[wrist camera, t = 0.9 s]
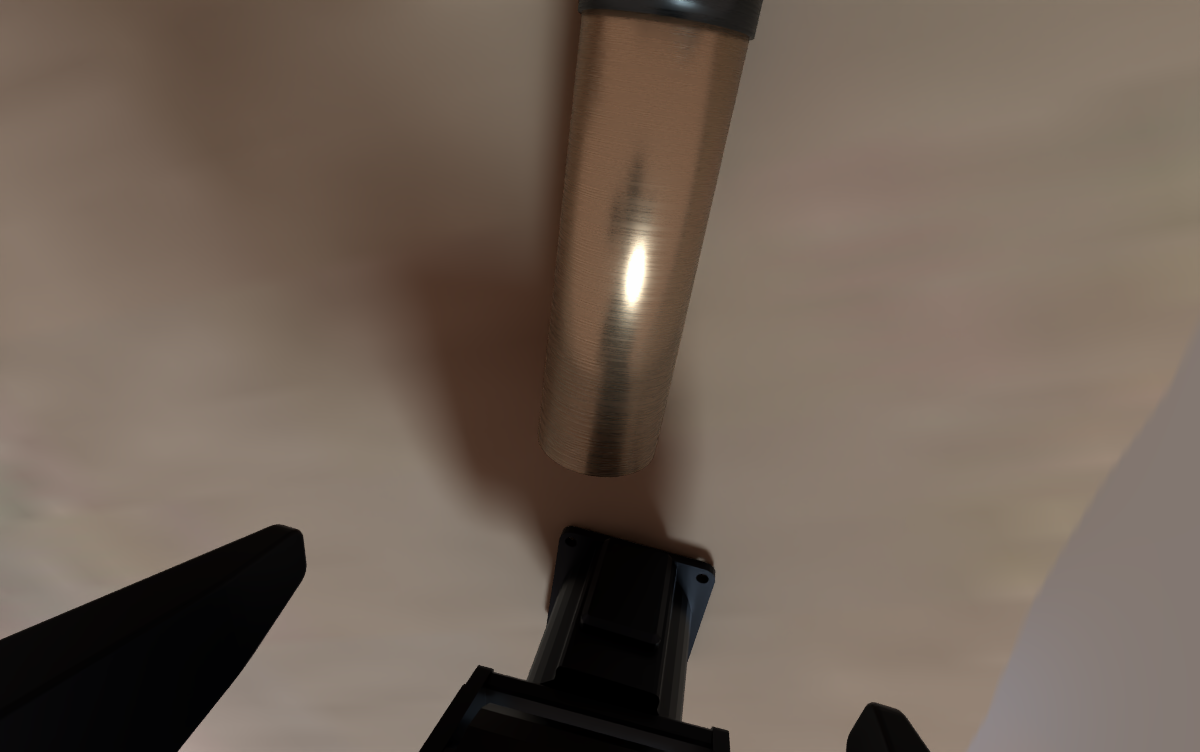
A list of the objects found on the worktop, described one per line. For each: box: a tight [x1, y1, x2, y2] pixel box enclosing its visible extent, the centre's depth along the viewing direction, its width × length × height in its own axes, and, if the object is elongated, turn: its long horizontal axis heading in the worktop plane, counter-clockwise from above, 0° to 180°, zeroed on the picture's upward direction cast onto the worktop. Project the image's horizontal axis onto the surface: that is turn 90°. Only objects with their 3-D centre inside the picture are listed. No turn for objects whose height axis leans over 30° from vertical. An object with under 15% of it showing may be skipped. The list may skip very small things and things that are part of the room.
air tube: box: [538, 0, 763, 477], centre depth 15 cm, size 16×4×4 cm
